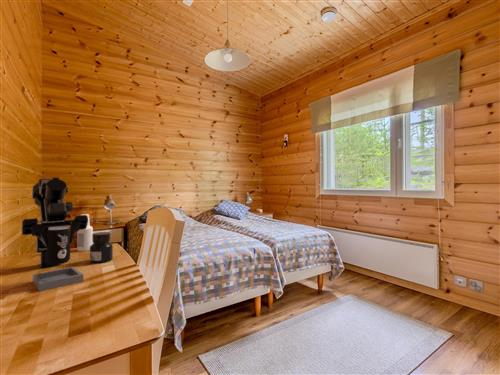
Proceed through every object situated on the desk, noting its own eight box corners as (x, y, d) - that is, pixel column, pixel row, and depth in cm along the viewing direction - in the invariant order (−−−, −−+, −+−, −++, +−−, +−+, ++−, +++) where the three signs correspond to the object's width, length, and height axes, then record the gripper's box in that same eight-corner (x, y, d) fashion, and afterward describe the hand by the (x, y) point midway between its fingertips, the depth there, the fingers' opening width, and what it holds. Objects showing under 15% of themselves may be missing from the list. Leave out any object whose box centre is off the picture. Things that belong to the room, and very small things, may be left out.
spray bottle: (81, 248, 137) (81, 213, 137) (95, 247, 138) (95, 213, 137) (74, 251, 130) (74, 215, 130) (88, 251, 131) (88, 215, 130)
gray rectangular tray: (32, 281, 90) (32, 274, 90) (73, 273, 99) (73, 266, 99) (39, 291, 82) (39, 283, 82) (83, 281, 91) (83, 274, 91)
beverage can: (50, 266, 86) (50, 230, 86) (43, 262, 90) (43, 227, 90) (73, 261, 92) (73, 227, 91) (65, 258, 96) (65, 225, 95)
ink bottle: (86, 260, 115) (86, 233, 115) (107, 256, 122) (107, 230, 122) (94, 265, 109) (94, 236, 109) (116, 260, 116) (116, 233, 116)
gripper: (22, 195, 87) (24, 233, 79) (87, 193, 100) (94, 226, 92) (21, 216, 93) (22, 253, 85) (82, 212, 106) (89, 244, 98)
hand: (59, 244), depth 90 cm, fingers closed on beverage can, 6 cm apart
